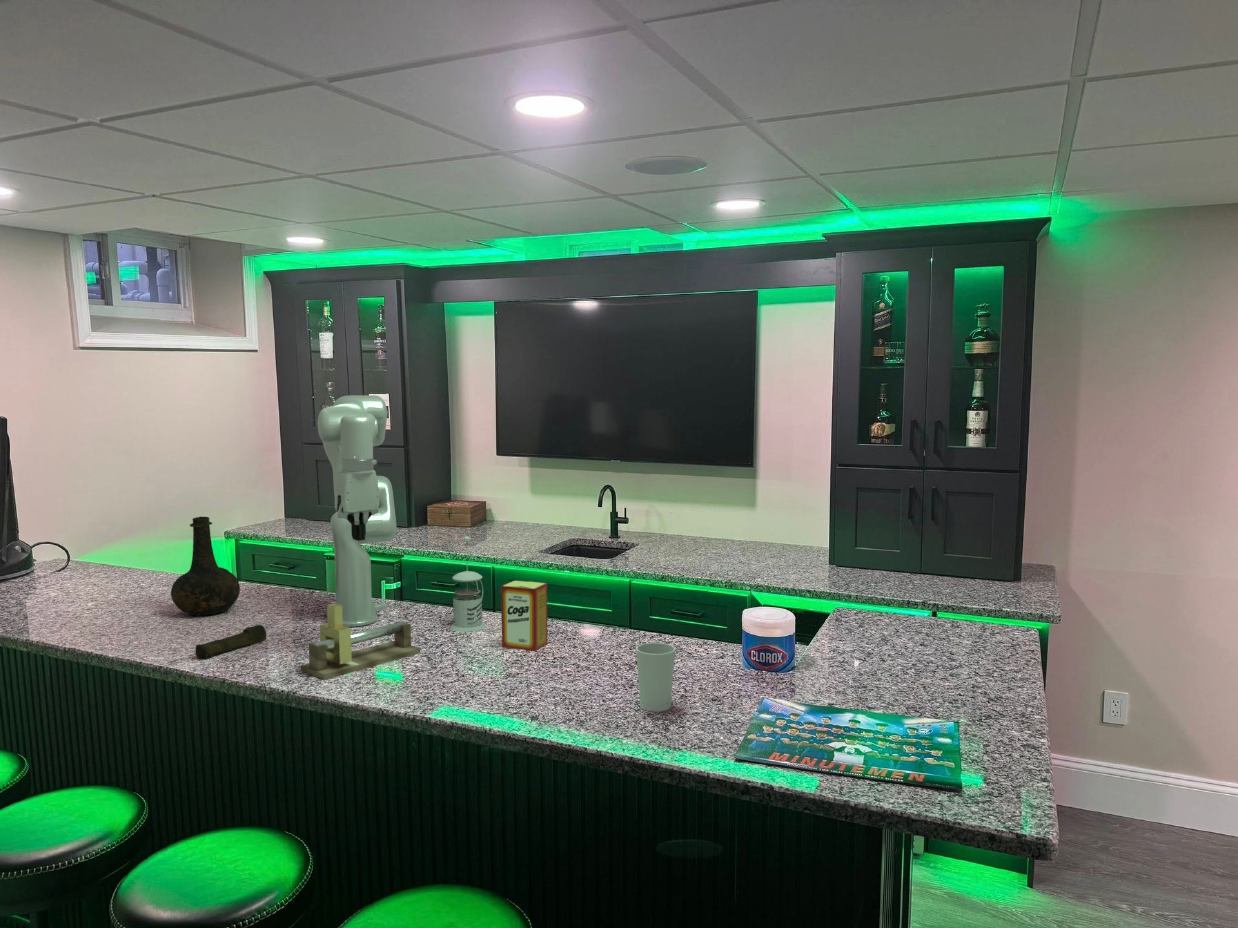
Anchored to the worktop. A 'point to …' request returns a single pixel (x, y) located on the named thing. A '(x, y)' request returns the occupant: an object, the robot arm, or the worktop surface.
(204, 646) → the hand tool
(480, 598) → the french press
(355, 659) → the pipe stand
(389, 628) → the pipe
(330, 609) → the collar
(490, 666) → the worktop surface
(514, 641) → the baking soda box
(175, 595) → the glass bottle
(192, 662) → the worktop surface
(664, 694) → the cup
